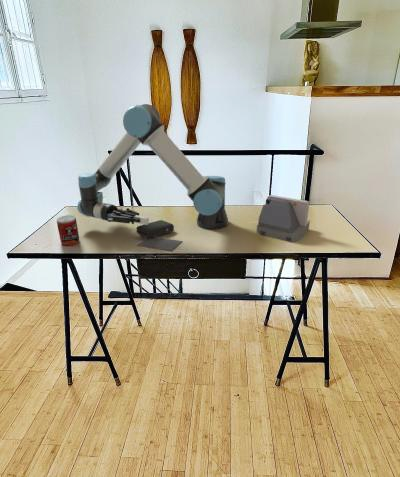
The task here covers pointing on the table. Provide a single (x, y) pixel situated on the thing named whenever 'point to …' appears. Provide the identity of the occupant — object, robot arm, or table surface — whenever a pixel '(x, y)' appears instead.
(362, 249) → the table surface
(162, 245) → the mat
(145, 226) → the card reader
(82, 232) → the table surface
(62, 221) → the canned food
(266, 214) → the grey tapered box
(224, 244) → the table surface
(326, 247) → the table surface
